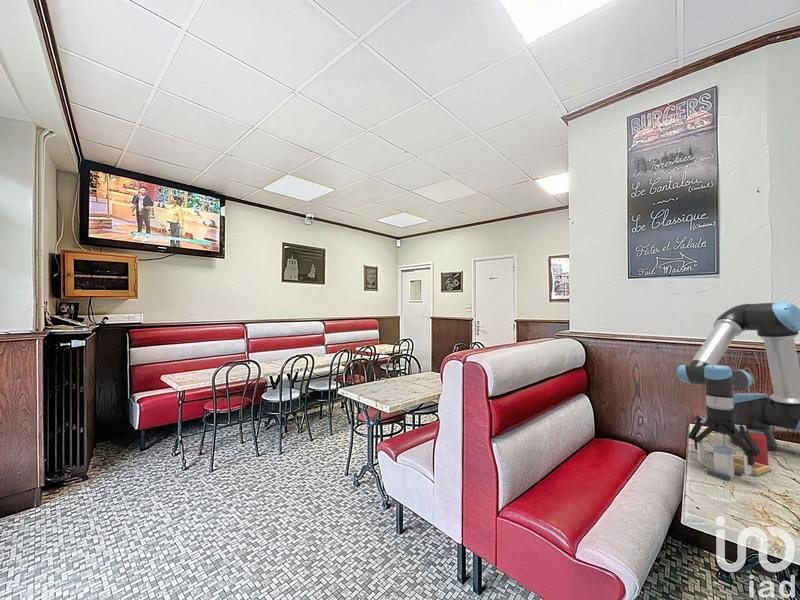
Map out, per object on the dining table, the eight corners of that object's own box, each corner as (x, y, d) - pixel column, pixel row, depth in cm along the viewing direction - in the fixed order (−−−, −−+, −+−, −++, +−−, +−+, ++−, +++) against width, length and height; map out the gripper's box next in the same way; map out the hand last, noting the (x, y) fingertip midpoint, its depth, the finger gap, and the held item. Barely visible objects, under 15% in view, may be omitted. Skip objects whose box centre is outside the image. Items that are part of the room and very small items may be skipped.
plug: (720, 472, 128) (718, 444, 128) (734, 476, 124) (732, 448, 125) (714, 473, 126) (712, 446, 127) (728, 478, 122) (726, 449, 123)
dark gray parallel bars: (721, 469, 130) (720, 465, 130) (742, 476, 124) (741, 471, 124) (707, 474, 126) (707, 469, 126) (728, 480, 120) (727, 476, 120)
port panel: (733, 460, 138) (733, 455, 138) (771, 471, 128) (771, 465, 128) (717, 465, 133) (717, 460, 133) (755, 477, 123) (755, 471, 123)
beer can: (773, 466, 132) (770, 434, 133) (753, 464, 134) (750, 433, 134) (759, 459, 139) (757, 429, 140) (740, 458, 140) (738, 428, 141)
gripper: (675, 401, 137) (678, 456, 135) (760, 417, 114) (765, 482, 112) (686, 399, 139) (689, 453, 138) (771, 414, 117) (776, 478, 115)
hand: (723, 466), depth 125 cm, fingers open, 13 cm apart
